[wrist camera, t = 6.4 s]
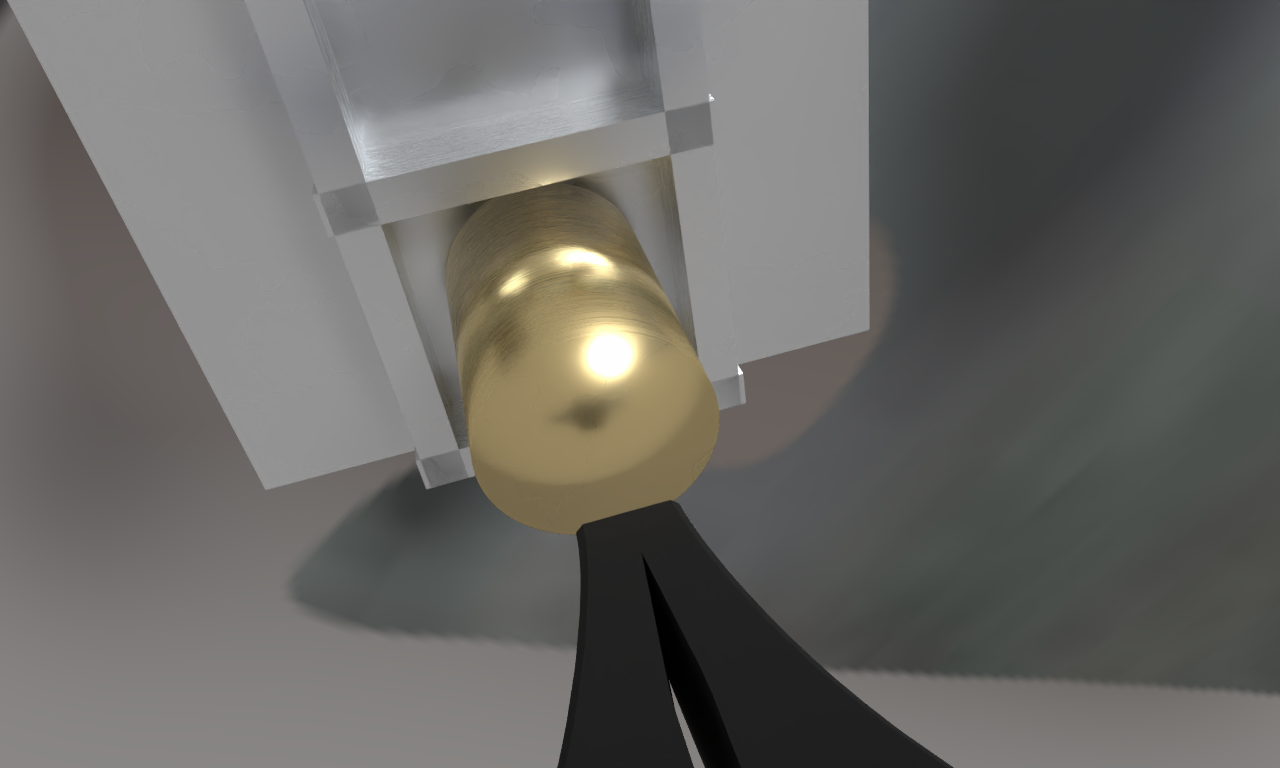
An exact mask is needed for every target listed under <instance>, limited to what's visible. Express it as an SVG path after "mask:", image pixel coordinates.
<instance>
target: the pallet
mask: <svg viewBox="0 0 1280 768" xmlns="http://www.w3.org/2000/svg"><path fill="white" fill-rule="evenodd" d="M7 1H8V3H9V5H10V7H11V9H12V11H13V12H14V14H15V16H16V18H17V20H18V22H19V24H20V26H21V28H22V30H23V31H24V33H25V35H26V37H27V39H28V41H29V43H30V45H31V47H32V49H33V50H34V52H35V54H36V56H37V58H38V60H39V62H40V64H41V66H42V67H43V69H44V71H45V73H46V75H47V77H48V79H49V81H50V83H51V85H52V86H53V88H54V90H55V92H56V94H57V96H58V98H59V100H60V101H61V103H62V105H63V107H64V109H65V111H66V113H67V115H68V116H69V119H70V121H71V122H72V124H73V126H74V128H75V130H76V132H77V134H78V136H79V137H80V139H81V141H82V143H83V145H84V147H85V149H86V151H87V153H88V154H89V157H90V158H91V160H92V162H93V164H94V166H95V168H96V170H97V172H98V174H99V175H100V177H101V179H102V181H103V183H104V185H105V187H106V189H107V191H108V193H109V194H110V196H111V198H112V200H113V202H114V204H115V206H116V207H117V210H118V211H119V213H120V215H121V217H122V219H123V221H124V223H125V225H126V227H127V228H128V230H129V232H130V234H131V236H132V238H133V240H134V242H135V244H136V246H137V248H138V249H139V251H140V253H141V255H142V257H143V259H144V261H145V263H146V265H147V267H148V268H149V270H150V272H151V274H152V276H153V278H154V280H155V282H156V284H157V285H158V287H159V289H160V291H161V293H162V295H163V297H164V299H165V301H166V303H167V304H168V306H169V308H170V310H171V312H172V314H173V316H174V317H175V320H176V322H177V323H178V325H179V327H180V329H181V331H182V333H183V335H184V337H185V339H186V340H187V342H188V344H189V346H190V348H191V350H192V351H193V354H194V355H195V358H196V359H197V361H198V363H199V365H200V367H201V369H202V371H203V372H204V375H205V376H206V378H207V380H208V382H209V384H210V386H211V388H212V390H213V392H214V394H215V395H216V397H217V399H218V401H219V403H220V405H221V407H222V409H223V411H224V413H225V414H226V416H227V418H228V420H229V422H230V424H231V426H232V427H233V430H234V431H235V433H236V435H237V437H238V439H239V441H240V443H241V444H242V446H243V448H244V450H245V452H246V454H247V456H248V458H249V460H250V462H251V464H252V466H253V467H254V469H255V471H256V473H257V475H258V477H259V479H260V481H261V483H262V485H263V486H264V488H265V490H268V489H272V488H275V487H280V486H284V485H287V484H291V483H295V482H299V481H302V480H306V479H310V478H314V477H317V476H321V475H325V474H329V473H332V472H336V471H340V470H344V469H348V468H351V467H355V466H359V465H363V464H366V463H370V462H374V461H378V460H381V459H385V458H389V457H393V456H397V455H400V454H404V453H408V452H412V451H415V461H416V464H417V466H418V469H419V471H420V474H421V477H422V479H423V482H424V484H425V487H426V489H429V488H433V487H437V486H440V485H444V484H448V483H452V482H455V481H459V480H463V479H466V478H470V477H474V476H475V474H474V469H473V465H472V461H471V454H470V448H469V441H468V434H467V427H466V421H465V414H464V407H463V400H462V394H461V387H460V380H459V373H458V367H457V360H456V353H455V346H454V340H453V333H452V326H451V319H450V313H449V306H448V299H447V293H446V284H445V268H446V261H447V257H448V253H449V250H450V247H451V245H452V242H453V240H454V238H455V236H456V235H457V233H458V231H459V230H460V228H461V227H462V226H463V224H464V223H465V221H466V220H467V219H468V218H469V217H470V216H471V215H472V214H473V213H474V212H475V211H476V210H477V209H478V208H480V207H481V206H482V205H484V204H485V203H486V202H488V201H489V200H491V199H493V198H494V197H498V196H502V195H506V194H510V193H514V192H519V191H523V190H527V189H531V188H535V187H539V186H543V185H548V184H552V183H565V184H570V185H575V186H579V187H582V188H584V189H587V190H590V191H592V192H594V193H596V194H598V195H600V196H602V197H603V198H605V199H606V200H608V201H609V202H611V203H612V204H613V205H614V206H615V207H616V208H617V209H618V210H619V211H620V212H621V213H622V214H623V215H624V217H625V218H626V219H627V221H628V222H629V224H630V226H631V227H632V229H633V231H634V233H635V235H636V237H637V239H638V241H639V242H640V244H641V246H642V248H643V250H644V252H645V254H646V256H647V258H648V260H649V262H650V264H651V266H652V268H653V270H654V272H655V274H656V276H657V278H658V280H659V282H660V284H661V286H662V288H663V290H664V292H665V294H666V295H667V297H668V299H669V301H670V303H671V305H672V307H673V309H674V311H675V313H676V315H677V317H678V319H679V321H680V323H681V325H682V327H683V329H684V331H685V333H686V335H687V337H688V339H689V341H690V343H691V345H692V347H693V349H694V350H695V352H696V354H697V356H698V358H699V360H700V362H701V364H702V366H703V368H704V370H705V372H706V374H707V376H708V378H709V380H710V382H711V384H712V386H713V389H714V391H715V394H716V396H717V401H718V406H719V410H722V409H726V408H730V407H733V406H737V405H741V404H744V403H746V397H745V387H744V378H743V373H742V371H741V369H740V367H739V366H738V365H739V364H743V363H747V362H751V361H754V360H758V359H762V358H766V357H769V356H773V355H777V354H780V353H784V352H788V351H792V350H796V349H800V348H803V347H807V346H811V345H815V344H818V343H822V342H825V341H830V340H834V339H837V338H841V337H845V336H849V335H852V334H856V333H860V332H863V331H867V330H870V319H869V317H870V316H869V315H870V312H869V311H870V309H869V308H870V305H869V304H870V303H869V302H870V301H869V300H870V299H869V36H868V0H7Z"/></svg>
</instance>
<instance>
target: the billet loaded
mask: <svg viewBox="0 0 1280 768" xmlns="http://www.w3.org/2000/svg"><path fill="white" fill-rule="evenodd" d="M445 284H446V293H447V299H448V306H449V313H450V319H451V326H452V333H453V340H454V346H455V353H456V360H457V367H458V373H459V380H460V387H461V394H462V400H463V407H464V414H465V421H466V427H467V434H468V441H469V448H470V454H471V461H472V465H473V469H474V474H475V476H476V478H477V481H478V483H479V485H480V487H481V489H482V490H483V492H484V493H485V495H486V496H487V497H488V499H489V500H490V501H491V502H492V503H493V504H494V505H495V506H496V507H497V508H498V509H500V510H501V511H502V512H503V513H504V514H506V515H507V516H509V517H511V518H512V519H514V520H516V521H517V522H520V523H522V524H524V525H527V526H529V527H531V528H535V529H538V530H542V531H546V532H551V533H557V534H570V535H576V532H577V531H578V529H579V528H580V527H581V526H582V524H585V523H589V522H592V521H596V520H600V519H603V518H607V517H610V516H614V515H617V514H621V513H625V512H628V511H632V510H635V509H639V508H643V507H646V506H650V505H653V504H657V503H661V502H664V501H668V500H672V501H675V500H676V499H677V498H678V497H679V496H681V495H682V494H683V493H684V492H685V491H686V490H687V489H688V488H689V487H690V486H691V485H692V484H693V483H694V481H695V480H696V479H697V478H698V476H699V475H700V474H701V472H702V471H703V469H704V468H705V466H706V464H707V462H708V461H709V459H710V457H711V454H712V452H713V450H714V447H715V443H716V440H717V436H718V431H719V423H720V418H719V406H718V401H717V396H716V394H715V391H714V389H713V386H712V384H711V382H710V380H709V378H708V376H707V374H706V372H705V370H704V368H703V366H702V364H701V362H700V360H699V358H698V356H697V354H696V352H695V350H694V349H693V347H692V345H691V343H690V341H689V339H688V337H687V335H686V333H685V331H684V329H683V327H682V325H681V323H680V321H679V319H678V317H677V315H676V313H675V311H674V309H673V307H672V305H671V303H670V301H669V299H668V297H667V295H666V294H665V292H664V290H663V288H662V286H661V284H660V282H659V280H658V278H657V276H656V274H655V272H654V270H653V268H652V266H651V264H650V262H649V260H648V258H647V256H646V254H645V252H644V250H643V248H642V246H641V244H640V242H639V241H638V239H637V237H636V235H635V233H634V231H633V229H632V227H631V226H630V224H629V222H628V221H627V219H626V218H625V217H624V215H623V214H622V213H621V212H620V211H619V210H618V209H617V208H616V207H615V206H614V205H613V204H612V203H611V202H609V201H608V200H606V199H605V198H603V197H602V196H600V195H598V194H596V193H594V192H592V191H590V190H587V189H584V188H582V187H579V186H575V185H570V184H565V183H552V184H548V185H543V186H539V187H535V188H531V189H527V190H523V191H519V192H514V193H510V194H506V195H502V196H498V197H494V198H493V199H491V200H489V201H488V202H486V203H485V204H484V205H482V206H481V207H480V208H478V209H477V210H476V211H475V212H474V213H473V214H472V215H471V216H470V217H469V218H468V219H467V220H466V221H465V223H464V224H463V226H462V227H461V228H460V230H459V231H458V233H457V235H456V236H455V238H454V240H453V242H452V245H451V247H450V250H449V253H448V257H447V261H446V268H445Z"/></svg>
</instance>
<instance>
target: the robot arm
mask: <svg viewBox="0 0 1280 768" xmlns="http://www.w3.org/2000/svg"><path fill="white" fill-rule="evenodd" d="M576 535H577V541H578V546H579V556H580V572H581V593H580V617H579V630H578V642H577V654H576V663H575V672H574V678H573V684H572V691H571V698H570V704H569V711H568V717H567V723H566V728H565V734H564V739H563V744H562V749H561V754H560V759H559V763H558V767H557V768H694V766H693V763H692V761H691V757H690V754H689V751H688V748H687V745H686V742H685V739H684V736H683V733H682V730H681V727H680V724H679V721H678V718H677V715H676V712H675V708H674V703H673V698H672V693H671V688H670V683H671V686H672V688H673V691H674V693H675V696H676V698H677V701H678V703H679V706H680V708H681V711H682V713H683V715H684V718H685V720H686V723H687V725H688V728H689V730H690V732H691V735H692V737H693V740H694V742H695V745H696V747H697V749H698V752H699V754H700V757H701V759H702V761H703V764H704V766H705V768H953V767H952V766H950V765H949V764H948V763H946V762H944V761H943V760H942V759H940V758H939V757H937V756H936V755H934V754H933V753H932V752H930V751H929V750H927V749H926V748H925V747H923V746H922V745H920V744H919V743H917V742H916V741H914V740H913V739H912V738H910V737H909V736H907V735H906V734H904V733H903V732H902V731H900V730H899V729H898V728H896V727H895V726H893V725H892V724H891V723H890V722H888V721H887V720H886V719H884V718H883V717H882V716H881V715H880V714H878V713H877V712H876V711H874V710H873V709H872V708H870V707H869V706H868V705H867V704H865V703H864V702H863V701H862V700H860V699H859V698H858V697H857V696H856V695H854V694H853V693H852V692H851V691H850V690H848V689H847V688H846V687H845V686H844V685H842V684H841V683H840V682H839V681H838V680H836V679H835V678H834V677H833V676H832V675H831V674H830V673H828V672H827V671H826V670H825V669H824V668H823V667H822V666H821V665H820V664H818V663H817V662H816V661H815V660H814V659H813V658H812V657H811V656H810V655H809V654H807V653H806V652H805V651H804V650H803V649H802V648H801V647H800V646H799V645H798V644H797V643H796V642H795V641H794V640H793V639H792V638H791V637H790V636H789V635H788V634H787V633H786V632H785V631H783V629H782V628H781V627H780V626H779V625H778V624H777V623H776V622H775V621H774V620H773V619H772V618H771V617H770V616H769V615H768V614H767V613H766V612H765V611H764V610H763V609H762V608H761V607H760V606H759V605H758V603H757V602H756V601H755V600H754V599H753V598H752V597H751V596H750V595H749V594H748V593H747V592H746V590H745V589H744V588H743V587H742V586H741V585H740V584H739V583H738V582H737V581H736V579H735V578H734V577H733V576H732V575H731V574H730V572H729V571H728V570H727V569H726V568H725V567H724V565H723V564H722V563H721V562H720V560H719V559H718V558H717V557H716V555H715V554H714V553H713V552H712V551H711V549H710V548H709V547H708V545H707V544H706V543H705V541H704V540H703V539H702V538H701V536H700V535H699V533H698V532H697V531H696V529H695V528H694V526H693V525H692V523H691V522H690V520H689V519H688V517H687V516H686V514H685V513H684V511H683V510H682V508H681V506H680V504H678V503H676V502H674V501H672V500H668V501H664V502H661V503H657V504H653V505H650V506H646V507H643V508H639V509H635V510H632V511H628V512H625V513H621V514H617V515H614V516H610V517H607V518H603V519H600V520H596V521H592V522H589V523H585V524H582V526H581V527H580V528H579V529H578V531H577V532H576ZM669 681H670V683H669Z"/></svg>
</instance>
